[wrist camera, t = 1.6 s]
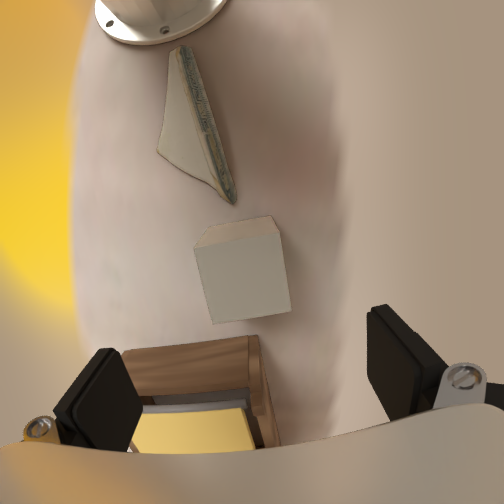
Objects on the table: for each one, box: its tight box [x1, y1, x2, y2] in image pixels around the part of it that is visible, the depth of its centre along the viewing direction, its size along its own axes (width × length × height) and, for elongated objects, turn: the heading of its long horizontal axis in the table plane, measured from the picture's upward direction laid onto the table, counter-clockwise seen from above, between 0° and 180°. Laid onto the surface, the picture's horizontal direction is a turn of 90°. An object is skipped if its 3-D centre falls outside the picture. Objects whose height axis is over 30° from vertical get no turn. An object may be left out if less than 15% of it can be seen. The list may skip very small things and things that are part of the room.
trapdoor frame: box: [121, 335, 281, 453], centre depth 25 cm, size 17×13×8 cm
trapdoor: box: [132, 398, 256, 454], centre depth 22 cm, size 14×11×1 cm
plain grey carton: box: [194, 216, 292, 324], centre depth 22 cm, size 5×5×7 cm
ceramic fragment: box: [157, 46, 237, 204], centre depth 21 cm, size 14×5×4 cm, turn 16°
